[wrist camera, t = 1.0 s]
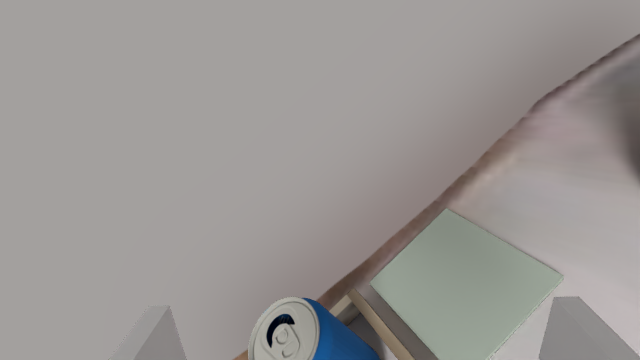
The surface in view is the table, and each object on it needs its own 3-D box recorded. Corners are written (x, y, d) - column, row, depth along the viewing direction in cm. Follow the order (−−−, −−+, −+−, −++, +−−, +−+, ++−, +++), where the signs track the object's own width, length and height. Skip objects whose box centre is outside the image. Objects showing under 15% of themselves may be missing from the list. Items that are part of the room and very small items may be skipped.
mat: (447, 211, 35) (446, 207, 35) (563, 279, 26) (563, 275, 25) (370, 285, 34) (368, 282, 33) (463, 386, 24) (461, 384, 24)
